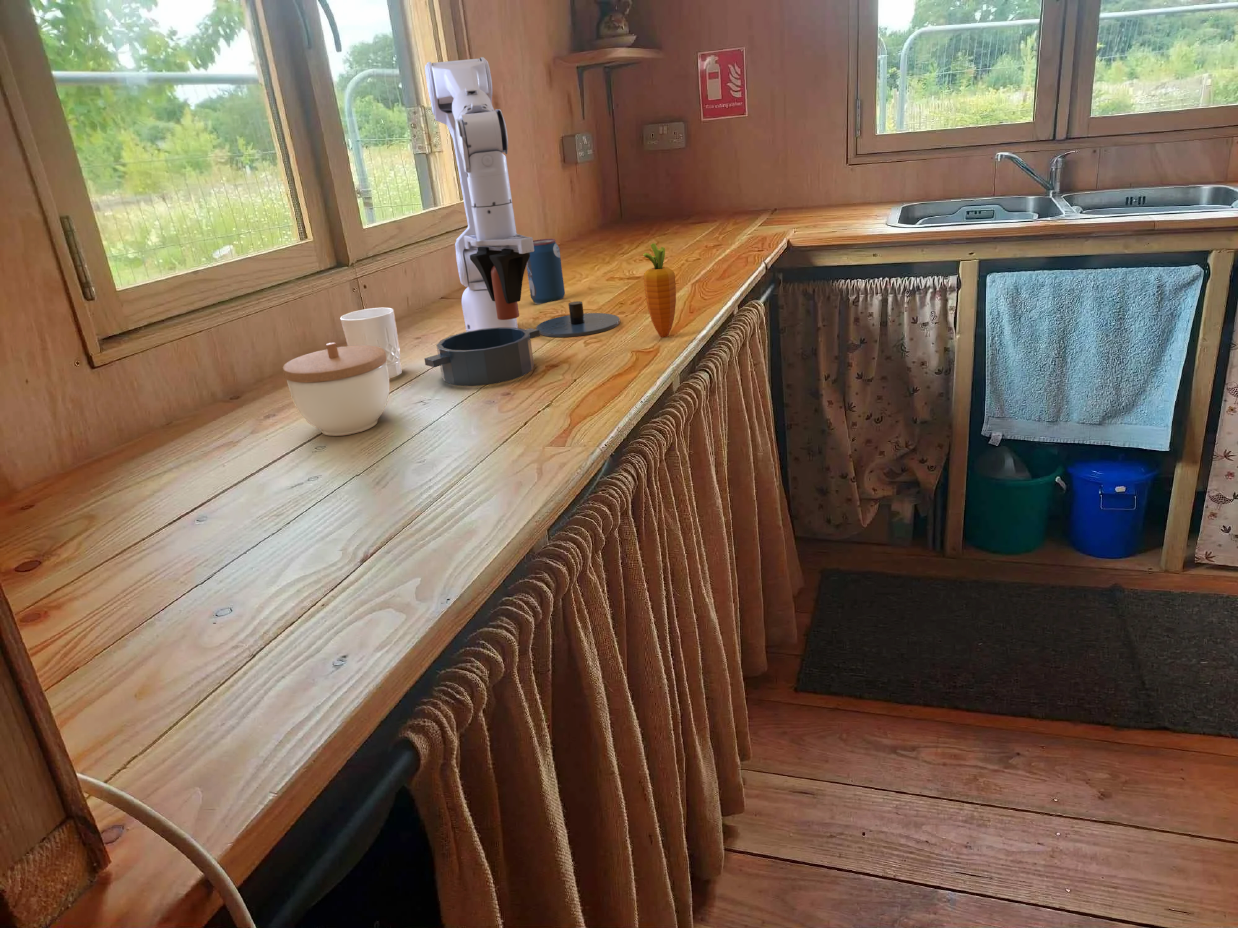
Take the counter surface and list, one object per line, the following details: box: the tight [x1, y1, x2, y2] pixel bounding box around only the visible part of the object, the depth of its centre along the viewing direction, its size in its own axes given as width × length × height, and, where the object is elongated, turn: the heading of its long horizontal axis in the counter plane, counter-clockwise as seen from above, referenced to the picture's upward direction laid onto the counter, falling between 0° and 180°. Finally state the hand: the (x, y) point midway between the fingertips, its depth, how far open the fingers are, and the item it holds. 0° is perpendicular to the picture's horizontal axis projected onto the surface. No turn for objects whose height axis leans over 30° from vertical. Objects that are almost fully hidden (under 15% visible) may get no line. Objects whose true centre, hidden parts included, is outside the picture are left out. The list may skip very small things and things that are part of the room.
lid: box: [535, 300, 621, 338], centre depth 150 cm, size 14×14×5 cm
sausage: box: [491, 266, 520, 320], centre depth 126 cm, size 3×3×8 cm
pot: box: [424, 327, 541, 387], centre depth 129 cm, size 13×19×6 cm
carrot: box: [642, 242, 677, 339], centre depth 136 cm, size 5×5×15 cm
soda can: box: [526, 238, 566, 306], centre depth 174 cm, size 7×7×12 cm
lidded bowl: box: [282, 341, 390, 437], centre depth 111 cm, size 13×13×11 cm
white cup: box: [339, 307, 403, 379], centre depth 132 cm, size 8×8×10 cm
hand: (506, 301), depth 127 cm, fingers closed on sausage, 3 cm apart
